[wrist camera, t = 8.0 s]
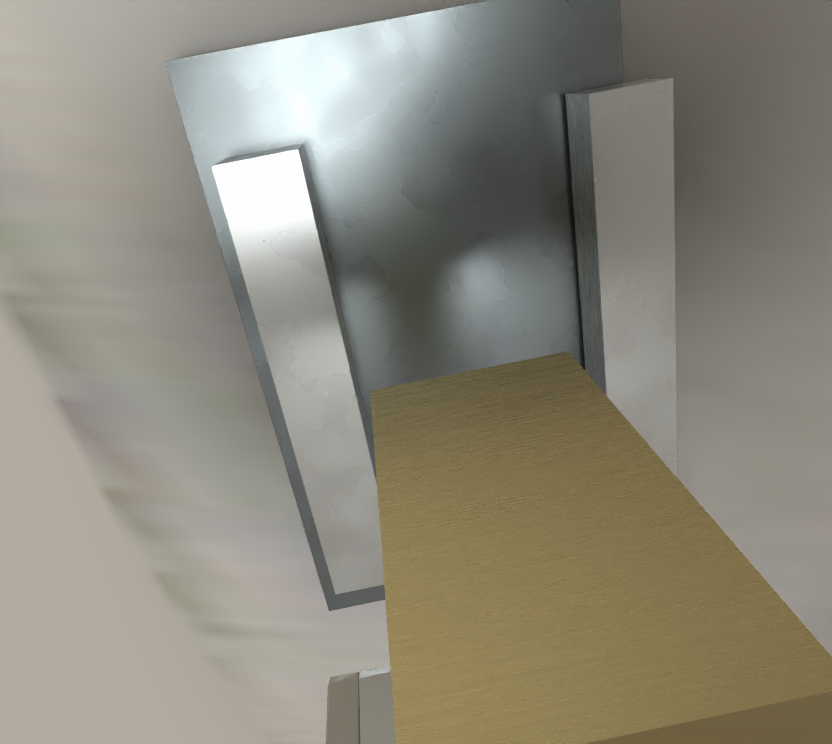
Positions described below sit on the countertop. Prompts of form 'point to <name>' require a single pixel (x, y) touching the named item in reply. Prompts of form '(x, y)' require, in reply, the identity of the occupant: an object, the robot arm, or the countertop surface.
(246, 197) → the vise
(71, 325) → the countertop surface
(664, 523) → the brass block
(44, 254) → the countertop surface
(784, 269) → the countertop surface
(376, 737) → the robot arm
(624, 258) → the sliding jaw
